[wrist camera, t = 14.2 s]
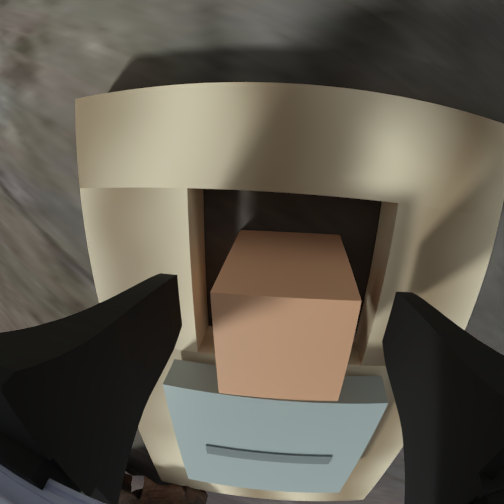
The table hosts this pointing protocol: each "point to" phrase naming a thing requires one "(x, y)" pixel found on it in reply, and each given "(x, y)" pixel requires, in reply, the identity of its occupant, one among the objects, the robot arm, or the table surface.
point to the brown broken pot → (159, 493)
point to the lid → (270, 432)
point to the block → (284, 316)
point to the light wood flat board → (287, 181)
